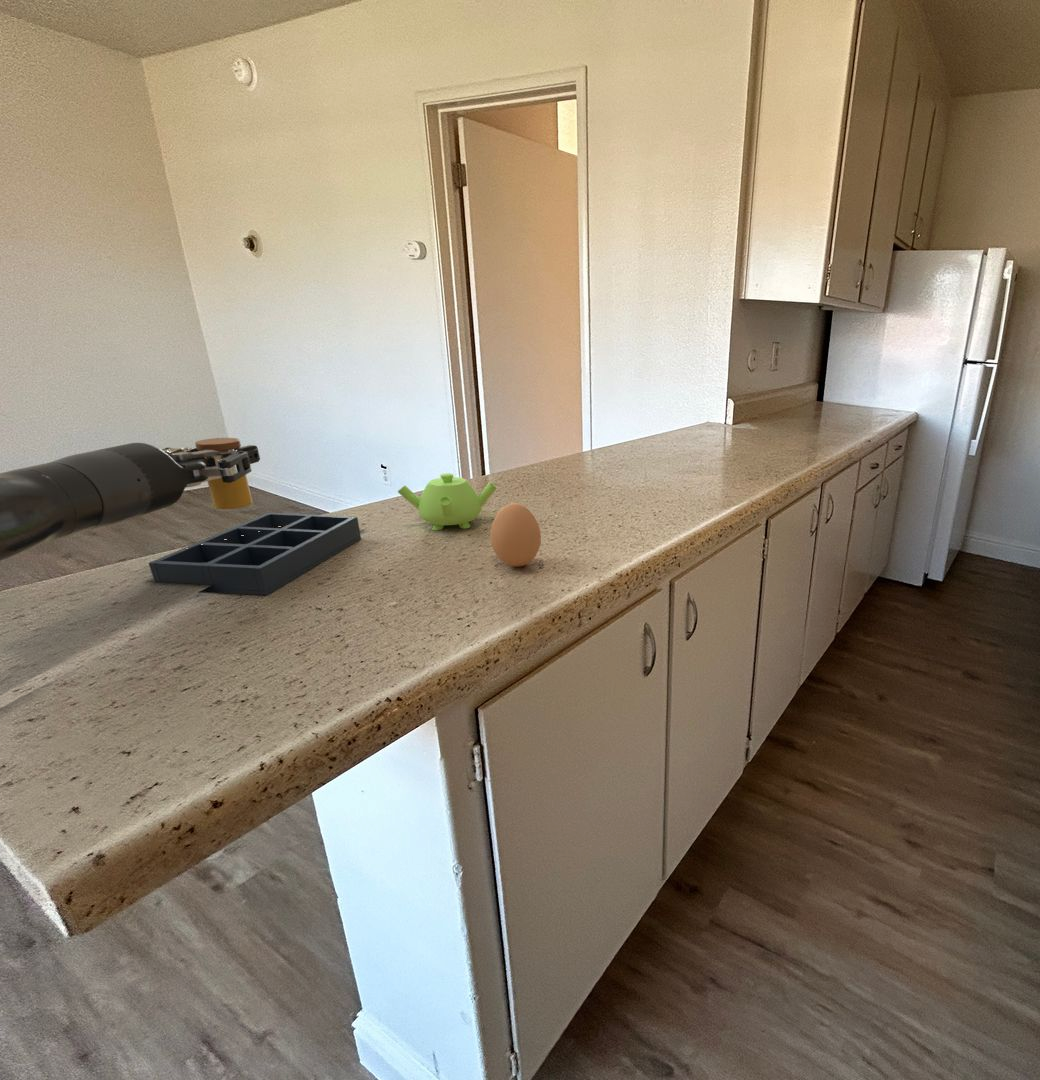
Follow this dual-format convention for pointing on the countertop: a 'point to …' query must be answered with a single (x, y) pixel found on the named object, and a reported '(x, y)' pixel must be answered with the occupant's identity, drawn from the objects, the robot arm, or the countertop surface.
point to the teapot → (448, 501)
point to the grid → (259, 553)
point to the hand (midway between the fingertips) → (238, 452)
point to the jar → (222, 491)
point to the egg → (515, 535)
